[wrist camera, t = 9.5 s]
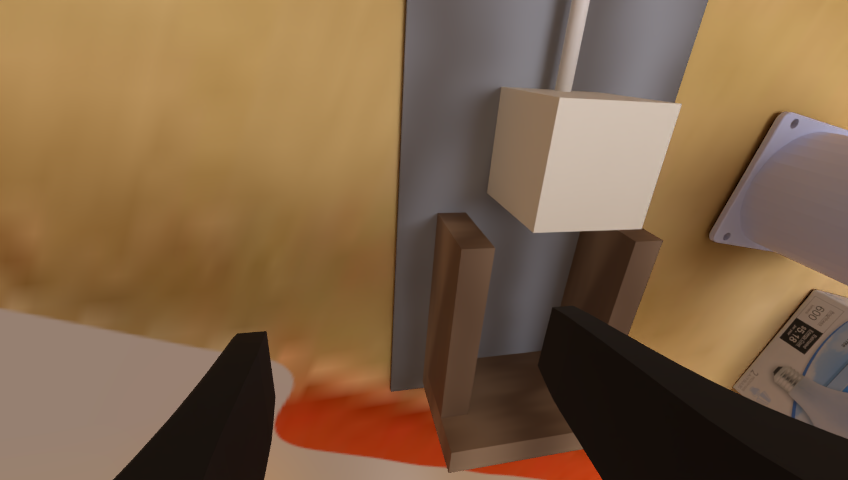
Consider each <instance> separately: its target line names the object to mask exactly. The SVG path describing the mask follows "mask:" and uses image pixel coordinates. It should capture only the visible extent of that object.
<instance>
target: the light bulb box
mask: <svg viewBox="0 0 848 480" xmlns="http://www.w3.org/2000/svg"><path fill="white" fill-rule="evenodd" d="M733 388H734V389H735V390H737V391H738V392H739V393H740V394H741V395H742V396H744V397H746V398H749V399H751V400H753V401H755V402H757V403H760V404H762V405H764V406H766V407H769V408H771V409H773V410H776V411H778V412H780V413H783V414H785V415H788V416H790V417H793V418H795V419H798V420H800V421H803V422H805V423H808V424H810V425H813V426H815V427H818V428H820V429H823V430H826V431H828V432H831V433H833V434H836V435H839V436H841V437H844V438H847V439H848V298H846V297H842V296H839V295H835V294H831V293H828V292H824V291H820V290H813V291H812V293H811V294H810V295H809V296H808V298H807V299H806V300H805V301H804V302H803V304H802V305H801V306H800V307H799V308H798V310H797V311H796V312H795V313H794V314H793V316H792V317H791V318H790V319H789V320H788V322H787V323H786V324H785V325H784V326H783V328H782V329H781V330H780V331H779V332H778V333H777V335H776V336H775V337H774V338H773V339H772V341H771V342H770V343H769V344H768V345H767V347H766V348H765V349H764V350H763V351H762V353H761V354H760V355H759V356H758V357H757V359H756V360H755V361H754V362H753V363H752V365H751V366H750V367H749V368H748V369H747V370H746V372H745V373H744V374H743V375H742V376H741V378H740V379H739V380H738V381H737V382H736V383H735V385H734V386H733Z"/></svg>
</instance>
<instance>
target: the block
mask: <svg viewBox="0 0 848 480" xmlns="http://www.w3.org/2000/svg"><path fill="white" fill-rule="evenodd" d="M589 3H590V0H572V2H571V7H570V12H569V17H568V23H567V28H566V33H565V38H564V44H563V49H562V54H561V59H560V65H559V70H558V75H557V81H556V86H555V90H551V89H533V88H516V87H501V93H500V101H499V108H498V115H497V123H496V130H495V137H494V145H493V152H492V159H491V167H490V174H489V181H488V189H487V193H488V194H489V195H490V196H491V197H492V198H493V199H495V200H496V201H497V202H498V203H499V204H500V205H501V206H503V207H504V208H505V209H506V210H507V211H508V212H510V213H511V214H512V215H513V216H514V217H515V218H517V219H518V220H519V221H520V222H521V223H522V224H523V225H525V226H526V227H527V228H528V229H529V230H530V231H532V232H533V233H546V232H574V231H603V230H631V229H642V226H643V223H644V220H645V217H646V214H647V211H648V208H649V204H650V201H651V198H652V195H653V192H654V189H655V186H656V183H657V180H658V176H659V173H660V170H661V167H662V164H663V161H664V158H665V155H666V152H667V148H668V145H669V142H670V139H671V136H672V133H673V130H674V127H675V124H676V120H677V117H678V114H679V111H680V108H681V105H682V104H679V103H672V102H665V101H658V100H650V99H643V98H636V97H629V96H622V95H615V94H608V93H600V92H586V91H571V90H572V85H573V80H574V75H575V70H576V66H577V61H578V56H579V51H580V46H581V41H582V36H583V32H584V27H585V22H586V17H587V12H588V7H589Z"/></svg>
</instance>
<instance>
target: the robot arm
mask: <svg viewBox="0 0 848 480" xmlns="http://www.w3.org/2000/svg"><path fill="white" fill-rule="evenodd" d="M709 238H710V240H712V241H714V242H717V243H723V244H729V245H735V246H741V247H747V248H754V249H760V250H766V251H772V252H776V253H778V254H781V255H783V256H785V257H787V258H789V259H791V260H794V261H796V262H798V263H800V264H802V265H804V266H807V267H809V268H811V269H813V270H815V271H817V272H820V273H822V274H824V275H826V276H828V277H830V278H833V279H835V280H837V281H839V282H841V283H843V284H845V285H848V130H845V129H842V128H839V127H836V126H833V125H830V124H827V123H824V122H821V121H818V120H815V119H812V118H809V117H806V116H802V115H799V114H796V113H793V112H782V113H781V114H780V115H778V116H777V118H776V119H775V121H774V123H773V124H772V126H771V128H770V130H769V131H768V133H767V135H766V136H765V138H764V140H763V142H762V143H761V145H760V147H759V149H758V150H757V152H756V154H755V155H754V157H753V159H752V161H751V162H750V164H749V166H748V168H747V169H746V171H745V173H744V174H743V176H742V178H741V180H740V181H739V183H738V185H737V187H736V188H735V190H734V192H733V194H732V195H731V197H730V199H729V200H728V202H727V204H726V206H725V207H724V209H723V211H722V213H721V214H720V216H719V218H718V219H717V221H716V223H715V225H714V226H713V228H712V230H711V232H710V234H709ZM538 368H539V370H540V372H541V375H542V377H543V379H544V381H545V384H546V386H547V388H548V390H549V392H550V394H551V396H552V398H553V401H554V402H555V404H556V406H557V407H558V409H559V411H560V412H561V414H562V415H563V417H564V419H565V420H566V422H567V424H568V425H569V427H570V428H571V430H572V432H573V433H574V435H575V436H576V438H577V440H578V441H579V443H580V444H581V446H582V448H583V449H584V451H585V452H586V454H587V456H588V457H589V459H590V460H591V462H592V464H593V465H594V467H595V468H596V470H597V471H598V473H599V475H600V476H601V478H602V479H603V480H848V439H847V438H844V437H841V436H839V435H836V434H833V433H831V432H828V431H826V430H823V429H820V428H818V427H815V426H813V425H810V424H808V423H805V422H803V421H800V420H798V419H795V418H793V417H790V416H788V415H785V414H783V413H780V412H778V411H776V410H773V409H771V408H769V407H766V406H764V405H762V404H760V403H757V402H755V401H753V400H751V399H749V398H746V397H744V396H742V395H740V394H738V393H735V392H733V391H731V390H729V389H727V388H725V387H723V386H720V385H718V384H716V383H714V382H712V381H710V380H708V379H706V378H704V377H702V376H701V375H699V374H697V373H695V372H693V371H691V370H689V369H687V368H685V367H683V366H681V365H679V364H677V363H676V362H674V361H672V360H670V359H668V358H666V357H665V356H663V355H661V354H659V353H657V352H656V351H654V350H652V349H650V348H648V347H647V346H645V345H643V344H641V343H640V342H638V341H636V340H634V339H633V338H631V337H629V336H627V335H626V334H624V333H622V332H621V331H619V330H617V329H615V328H614V327H612V326H610V325H608V324H607V323H605V322H603V321H601V320H600V319H598V318H596V317H594V316H592V315H590V314H589V313H587V312H585V311H583V310H581V309H579V308H577V307H575V306H561V307H552V311H551V315H550V319H549V323H548V326H547V330H546V334H545V338H544V342H543V346H542V350H541V354H540V358H539V362H538ZM274 407H275V391H274V383H273V376H272V369H271V361H270V354H269V347H268V339H267V332H266V331H264V332H252V333H240V334H237V335H236V336H235V337H233V339H232V340H231V341H230V343H229V344H228V345H227V347H226V348H225V349H224V351H223V352H222V353H221V355H220V356H219V357H218V359H217V360H216V361H215V363H214V364H213V365H212V367H211V368H210V369H209V371H208V372H207V373H206V374H205V376H204V377H203V378H202V380H201V381H200V382H199V383H198V385H197V386H196V387H195V388H194V389H193V391H192V392H191V393H190V394H189V396H188V397H187V398H186V399H185V400H184V402H183V403H182V404H181V405H180V407H179V408H178V409H177V410H176V411H175V413H174V414H173V415H172V416H171V417H170V418H169V420H168V421H167V422H166V423H165V424H164V425H163V426H162V427H161V429H160V430H159V431H158V432H157V433H156V434H155V435H154V436H153V438H151V440H150V441H149V442H148V443H147V444H146V445H145V446H144V447H143V448H142V450H141V451H140V452H139V453H138V454H137V455H136V456H135V457H134V458H133V460H131V462H130V463H129V464H128V465H127V466H126V467H125V468H124V469H123V470H122V471H121V472H120V473H119V474H118V475H117V476H116V477H115V478H114V479H113V480H264V477H265V472H266V467H267V462H268V457H269V451H270V445H271V441H272V430H273V420H274Z"/></svg>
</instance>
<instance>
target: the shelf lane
mask: <svg viewBox="0 0 848 480" xmlns="http://www.w3.org/2000/svg"><path fill="white" fill-rule="evenodd" d="M571 2H572V0H406V21H405V46H404V70H403V95H402V120H401V144H400V169H399V193H398V218H397V242H396V267H395V292H394V316H393V341H392V365H391V392H392V391H400V390H408V389H416V388H424V389H425V392H426V396H427V399H428V403H429V406H430V410H431V413H432V417H433V420H434V424H435V427H436V430H437V434H438V437H439V441H440V444H441V448H442V451H443V455H444V458H445V462H446V465H447V469H448V472H449V473H451V472H456V471H462V470H468V469H474V468H479V467H485V466H490V465H496V464H502V463H507V462H513V461H518V460H524V459H530V458H535V457H541V456H546V455H552V454H557V453H563V452H569V451H574V450H580V449H583V448H582V446H581V444H580V443H579V441H578V440H577V438H576V436H575V435H574V433H573V432H572V430H571V428H570V427H569V425H568V424H567V422H566V420H565V419H564V417H563V415H562V414H561V412H560V411H559V409H558V407H557V406H556V404H555V402H554V401H553V398H552V396H551V394H550V392H549V390H548V388H547V386H546V384H545V381H544V379H543V377H542V375H541V372H540V370H539V368H538V362H539V358H540V354H541V350H542V346H543V342H544V338H545V334H546V330H547V326H548V323H549V319H550V315H551V311H552V307H561V306H575V307H577V308H579V309H581V310H583V311H585V312H587V313H589V314H590V315H592V316H594V317H596V318H598V319H600V320H601V321H603V322H605V323H607V324H608V325H610V326H612V327H614V328H615V329H617V330H619V331H621V332H622V333H624V334H626V335H627V336H628V334H629V331H630V328H631V325H632V323H633V320H634V317H635V315H636V312H637V309H638V307H639V304H640V301H641V299H642V296H643V293H644V290H645V288H646V285H647V282H648V280H649V277H650V274H651V272H652V269H653V266H654V264H655V261H656V258H657V255H658V253H659V250H660V247H661V245H662V242H663V240H661V239H659V238H658V237H656V236H654V235H653V234H651V233H649V232H647V231H646V230H644V229H631V230H603V231H574V232H546V233H533V232H532V231H530V230H529V229H528V228H527V227H526V226H525V225H523V224H522V223H521V222H520V221H519V220H518V219H517V218H515V217H514V216H513V215H512V214H511V213H510V212H508V211H507V210H506V209H505V208H504V207H503V206H501V205H500V204H499V203H498V202H497V201H496V200H495V199H493V198H492V197H491V196H490V195H489V194H488V193H487V189H488V181H489V174H490V167H491V159H492V152H493V145H494V137H495V130H496V123H497V115H498V108H499V101H500V93H501V87H516V88H533V89H551V90H555V86H556V81H557V75H558V70H559V65H560V59H561V54H562V49H563V44H564V38H565V33H566V28H567V23H568V17H569V12H570V7H571ZM707 2H708V0H590V3H589V7H588V12H587V17H586V22H585V27H584V32H583V36H582V41H581V46H580V51H579V56H578V61H577V66H576V70H575V75H574V80H573V85H572V90H571V91H586V92H600V93H608V94H615V95H622V96H629V97H636V98H643V99H650V100H658V101H665V102H672V103H675V100H676V96H677V93H678V90H679V87H680V84H681V81H682V78H683V75H684V72H685V69H686V66H687V63H688V60H689V57H690V54H691V51H692V48H693V45H694V42H695V39H696V36H697V33H698V30H699V27H700V24H701V21H702V17H703V14H704V11H705V8H706V5H707Z"/></svg>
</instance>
